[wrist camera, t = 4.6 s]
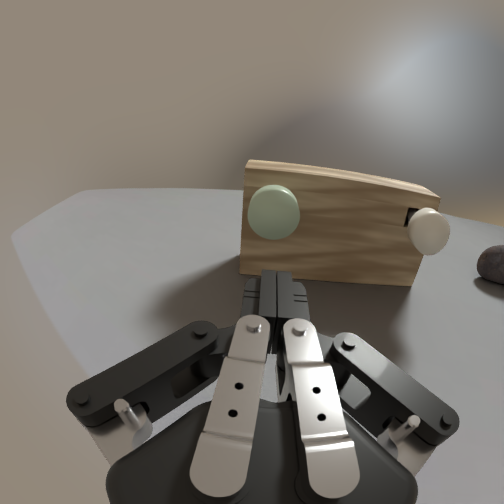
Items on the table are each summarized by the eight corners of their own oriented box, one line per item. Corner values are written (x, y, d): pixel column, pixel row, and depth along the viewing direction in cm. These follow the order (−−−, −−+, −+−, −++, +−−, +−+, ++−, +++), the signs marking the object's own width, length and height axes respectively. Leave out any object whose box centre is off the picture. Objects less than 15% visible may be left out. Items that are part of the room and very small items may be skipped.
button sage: (296, 241, 24) (303, 193, 22) (246, 237, 24) (249, 188, 22) (292, 218, 29) (297, 177, 27) (250, 214, 29) (253, 173, 27)
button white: (441, 257, 23) (454, 218, 21) (410, 253, 23) (422, 211, 21) (419, 233, 28) (429, 199, 26) (389, 229, 28) (398, 193, 26)
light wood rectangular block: (411, 286, 31) (440, 197, 25) (239, 273, 31) (244, 167, 25) (398, 266, 35) (421, 185, 29) (243, 252, 36) (248, 159, 30)
